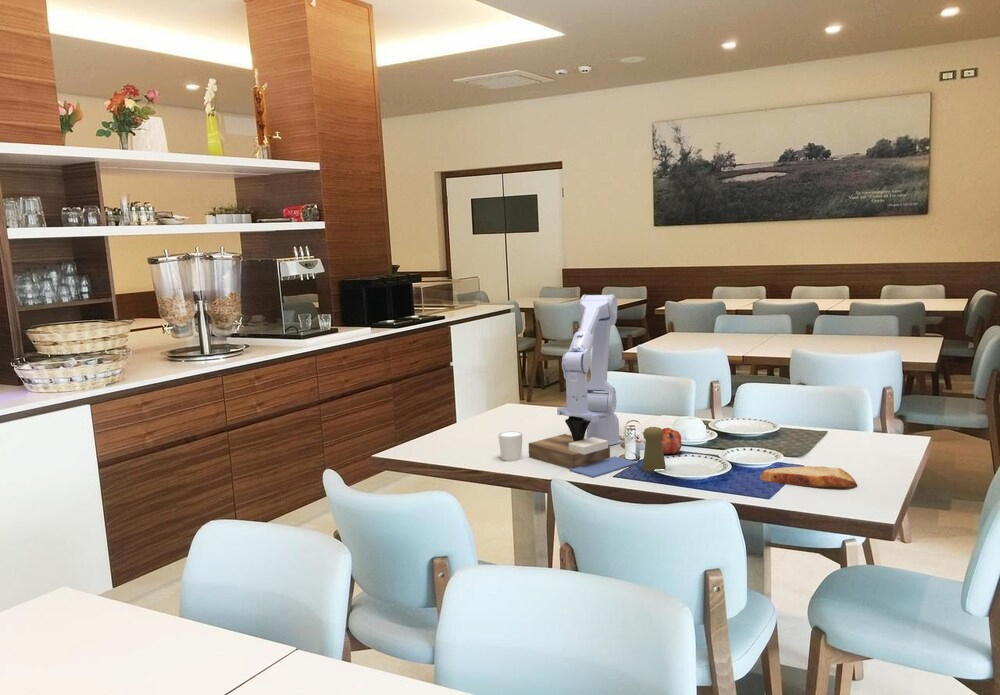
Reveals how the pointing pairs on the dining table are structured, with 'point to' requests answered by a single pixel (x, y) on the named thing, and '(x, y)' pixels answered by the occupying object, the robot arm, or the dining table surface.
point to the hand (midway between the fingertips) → (578, 443)
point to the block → (588, 445)
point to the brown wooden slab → (564, 452)
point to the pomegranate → (671, 441)
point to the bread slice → (810, 477)
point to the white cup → (510, 445)
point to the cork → (653, 449)
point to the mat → (603, 466)
